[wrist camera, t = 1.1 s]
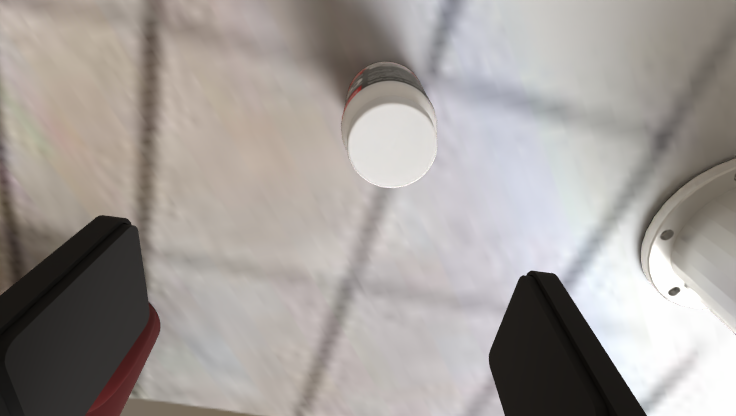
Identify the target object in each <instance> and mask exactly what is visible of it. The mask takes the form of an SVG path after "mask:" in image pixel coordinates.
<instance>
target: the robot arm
mask: <svg viewBox="0 0 736 416" xmlns="http://www.w3.org/2000/svg"><path fill="white" fill-rule="evenodd" d="M641 263H642V269H643V272H644V274H645V276H646V278H647V280H648V281H649V282H650V283H651V284H652V286H653V287H654V288H655V289H656V290H657V291H658V292H659V293H660V294H661V295H662V296H663V297H664V298H666V299H668V300H670V301H672V302H674V303H676V304H678V305H682V306H685V307H689V308H698V309H709V310H710V311H711V312H712V313H713V314H714V315H715V316H716V317H717V318H718V319H719V320H720V321H721V322H723V323H724V324H725V325H726V326H727V327H728V328H729V329H730V330H731V331H732V332H733V333H734V334H735V335H736V158H735V159H732V160H730V161H727V162H725V163H722V164H720V165H717V166H715V167H713V168H711V169H709V170H707V171H706V172H704V173H702V174H700V175H698V176H696V177H695V178H694V179H692V180H691V181H690V182H688V183H687V184H686V185H684V186H683V187H681V188H680V189H679V190H678V191H677V192H676V193H675V194H674V195H673V196H672V197H671V198H669V199H668V200H667V201H666V202H665V204H664V205H663V206H662V207H661V209H660V210H659V211H658V213H657V214H656V215H655V216H654V218H653V220H652V222H651V224H650V225H649V227H648V229H647V231H646V234H645V237H644V240H643V243H642V249H641ZM149 314H150V312H149V303H148V297H147V290H146V283H145V276H144V269H143V262H142V255H141V248H140V241H139V234H138V229H137V227H136V226H133V225H131V222H130V221H129V220H128V219H126V218H119V217H112V216H104V215H102V216H98V217H96V218H95V219H94V220H93V221H91V222H90V223H89V224H88V225H86V226H85V227H84V228H83V229H81V230H80V231H79V232H78V233H77V234H75V235H74V236H73V237H72V238H70V239H69V240H68V241H67V242H66V243H64V244H63V245H62V246H61V247H59V248H58V249H57V250H56V251H54V252H53V253H52V254H51V255H50V256H48V257H47V258H46V259H45V260H43V261H42V262H41V263H40V264H39V265H37V266H36V267H35V268H34V269H32V270H31V271H30V272H29V273H27V274H26V275H25V276H24V277H23V278H21V279H20V280H19V281H18V282H16V283H15V284H14V285H13V286H12V287H10V288H9V289H8V290H7V291H5V292H4V293H3V294H2V295H0V416H85V415H86V413H87V412H88V410H89V409H90V407H91V406H92V404H93V403H94V401H95V400H96V399H97V397H98V396H99V394H100V393H101V391H102V390H103V388H104V387H105V385H106V384H107V382H108V381H109V379H110V378H111V377H112V375H113V374H114V372H115V371H116V369H117V368H118V366H119V365H120V363H121V362H122V360H123V359H124V357H125V356H126V354H127V353H128V352H129V350H130V349H131V347H132V346H133V344H134V343H135V341H136V340H137V338H138V337H139V335H140V334H141V332H142V331H143V330H144V328H145V326H146V325H147V322H148V319H149ZM489 365H490V369H491V372H492V375H493V378H494V381H495V385H496V388H497V391H498V394H499V398H500V401H501V404H502V407H503V411H504V414H505V416H647V415H646V414H645V412H644V410H643V409H642V407H641V406H640V404H639V403H638V401H637V400H636V398H635V396H634V395H633V393H632V392H631V390H630V389H629V387H628V386H627V384H626V382H625V381H624V379H623V378H622V376H621V375H620V373H619V372H618V370H617V368H616V367H615V365H614V364H613V362H612V361H611V359H610V358H609V356H608V354H607V353H606V351H605V350H604V348H603V347H602V345H601V344H600V342H599V340H598V339H597V337H596V336H595V334H594V333H593V331H592V330H591V328H590V326H589V325H588V323H587V322H586V320H585V319H584V317H583V316H582V314H581V312H580V311H579V309H578V308H577V306H576V305H575V303H574V302H573V300H572V298H571V297H570V295H569V294H568V292H567V291H566V289H565V288H564V286H563V284H562V283H561V281H560V280H559V278H558V277H557V276H556V275H555V274H553V273H546V272H538V271H529V272H528V273H527V275H526V276H524V275H523V276H521V277H520V278H519V280H518V283H517V285H516V288H515V290H514V293H513V295H512V298H511V300H510V303H509V305H508V308H507V310H506V313H505V315H504V317H503V320H502V322H501V325H500V327H499V330H498V332H497V335H496V337H495V340H494V342H493V345H492V347H491V350H490V353H489Z"/></svg>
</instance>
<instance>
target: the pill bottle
mask: <svg viewBox="0 0 736 416" xmlns="http://www.w3.org/2000/svg"><path fill="white" fill-rule="evenodd" d="M341 131H342V139H343V143H344V145H345V148H346V150H347V152H348V156H349V159H350V162H351V164H352V166H353V168H354V169H355V170H356V172H357V173H358V174H359V175H360V176H361V177H362V178H363V179H365V180H366V181H367V182H369V183H371V184H374V185H376V186H379V187H384V188H398V187H403V186H406V185H409V184H411V183H413V182H415V181H417V180H418V179H420V178H421V177H422V176H423V175H424V174H425V173H426V172H427V171H428V170H429V168H430V167H431V165H432V163H433V161H434V159H435V156H436V152H437V119H436V115H435V111H434V108H433V106H432V104H431V102H430V100H429V99H428V97H427V95H426V93H425V91H424V89H423V87H422V85H421V83H420V82H419V80H418V78H417V77H416V76H415V75H414V73H413V72H411V71H410V70H409V69H408V68H406V67H404V66H402V65H400V64H397V63H394V62H378V63H374V64H372V65H369V66H367V67H366V68H364V69H363V70H361V71H360V72H359V73H358V74H357V75H356V77H355V78H354V79H353V81H352V83H351V85H350V87H349V90H348V93H347V98H346V103H345V108H344V112H343V116H342V122H341Z"/></svg>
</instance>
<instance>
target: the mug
mask: <svg viewBox="0 0 736 416" xmlns="http://www.w3.org/2000/svg"><path fill="white" fill-rule="evenodd" d="M148 303H149V302H148ZM149 312H150V314H149V319H148V322H147V325H146V326H145V328H144V330H143V331H142V332H141V334H140V335H139V337H138V338H137V340H136V341H135V343H134V344H133V346H132V347H131V349H130V350H129V352H128V353H127V354H126V356H125V357H124V359H123V360H122V362H121V363H120V365H119V366H118V368H117V369H116V371H115V372H114V374H113V375H112V377H111V378H110V379H109V381H108V382H107V384H106V385H105V387H104V388H103V390H102V391H101V393H100V394H99V396H98V397H97V399H96V400H95V401H94V403H93V404H92V406H91V407H90V409H89V410H88V412H87V413H86V415H85V416H120V414H121V412H122V410H123V408H124V406H125V404H126V401H127V399H128V397H129V395H130V393H131V391H132V389H133V387H134V385H135V383H136V381H137V379H138V377H139V375H140V373H141V371H142V369H143V367H144V365H145V363H146V360H147V358H148V356H149V354H150V352H151V350H152V348H153V346H154V344H155V342H156V339H157V337H158V335H159V332H160V320H159V317H158V315H157V313H156V311H155V309H154V308H153V307H152V306H151V305H150V303H149Z"/></svg>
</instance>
